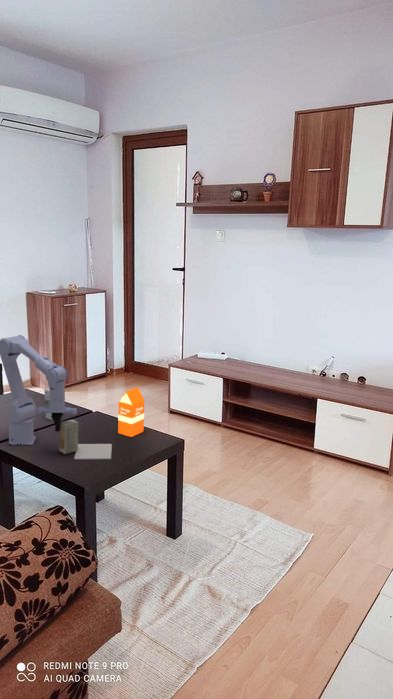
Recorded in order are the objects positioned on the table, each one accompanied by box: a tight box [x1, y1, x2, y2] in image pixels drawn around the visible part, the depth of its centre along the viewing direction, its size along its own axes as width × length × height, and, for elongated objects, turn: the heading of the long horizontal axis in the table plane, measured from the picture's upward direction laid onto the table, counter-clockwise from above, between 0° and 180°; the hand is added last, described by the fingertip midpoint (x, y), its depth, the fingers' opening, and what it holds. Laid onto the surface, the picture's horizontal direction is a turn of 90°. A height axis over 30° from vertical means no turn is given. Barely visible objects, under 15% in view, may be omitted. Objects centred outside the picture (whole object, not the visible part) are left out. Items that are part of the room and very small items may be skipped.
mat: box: [73, 443, 113, 460], centre depth 204 cm, size 14×14×1 cm
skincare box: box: [58, 419, 79, 455], centre depth 201 cm, size 6×4×12 cm
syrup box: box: [44, 387, 54, 422], centre depth 236 cm, size 6×6×14 cm
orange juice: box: [117, 386, 145, 438], centre depth 224 cm, size 8×9×20 cm
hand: (57, 430), depth 200 cm, fingers closed
